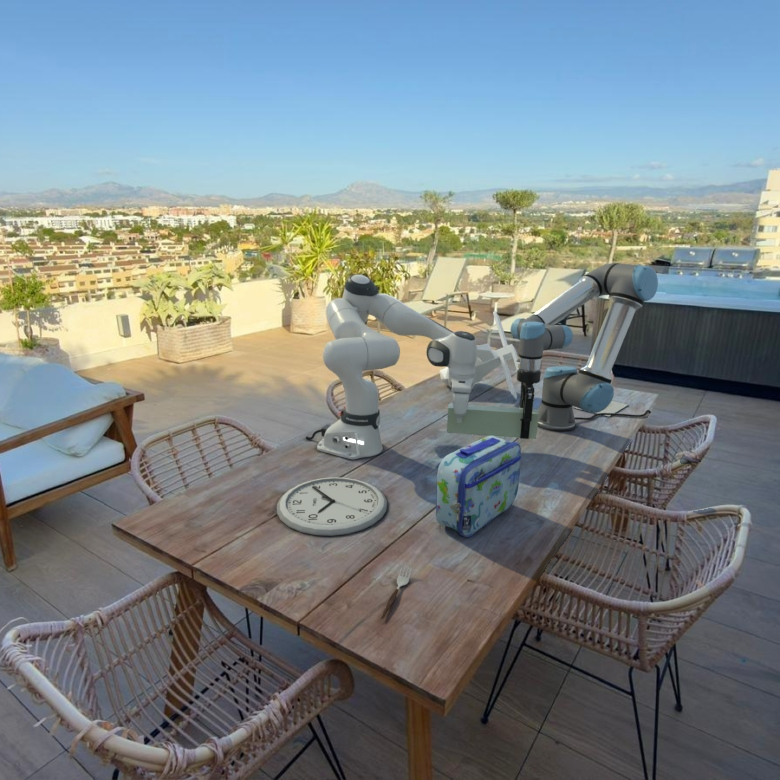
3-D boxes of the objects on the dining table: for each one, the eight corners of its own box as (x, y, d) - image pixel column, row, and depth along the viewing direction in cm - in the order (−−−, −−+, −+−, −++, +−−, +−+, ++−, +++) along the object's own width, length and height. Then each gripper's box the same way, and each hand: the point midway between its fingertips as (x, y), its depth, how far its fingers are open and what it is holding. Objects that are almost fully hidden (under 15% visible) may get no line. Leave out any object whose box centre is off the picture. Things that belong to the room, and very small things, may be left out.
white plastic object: (461, 429, 252) (437, 405, 227) (444, 352, 274) (420, 323, 250) (535, 404, 240) (518, 377, 215) (510, 326, 262) (492, 293, 237)
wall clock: (392, 527, 129) (268, 531, 127) (391, 533, 130) (269, 537, 127) (383, 473, 158) (282, 475, 155) (383, 478, 158) (282, 480, 156)
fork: (375, 618, 102) (375, 610, 101) (401, 570, 116) (402, 563, 115) (388, 622, 101) (388, 613, 100) (413, 573, 115) (413, 565, 114)
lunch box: (462, 546, 125) (467, 466, 119) (428, 528, 132) (432, 452, 126) (521, 508, 143) (529, 437, 136) (489, 494, 150) (494, 425, 144)
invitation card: (608, 416, 214) (573, 407, 224) (608, 416, 214) (573, 408, 224) (628, 404, 229) (594, 396, 238) (628, 405, 229) (594, 397, 238)
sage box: (533, 433, 181) (536, 408, 178) (536, 439, 176) (539, 414, 173) (446, 427, 184) (448, 403, 181) (446, 432, 179) (448, 408, 176)
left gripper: (452, 371, 186) (450, 408, 190) (451, 388, 166) (449, 429, 170) (470, 372, 185) (467, 409, 189) (471, 389, 166) (468, 430, 170)
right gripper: (514, 362, 181) (509, 424, 188) (520, 376, 164) (515, 445, 171) (536, 362, 180) (530, 425, 187) (545, 377, 163) (538, 446, 170)
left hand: (459, 418), depth 180 cm, fingers closed on sage box, 5 cm apart
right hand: (523, 434), depth 179 cm, fingers closed on sage box, 5 cm apart
